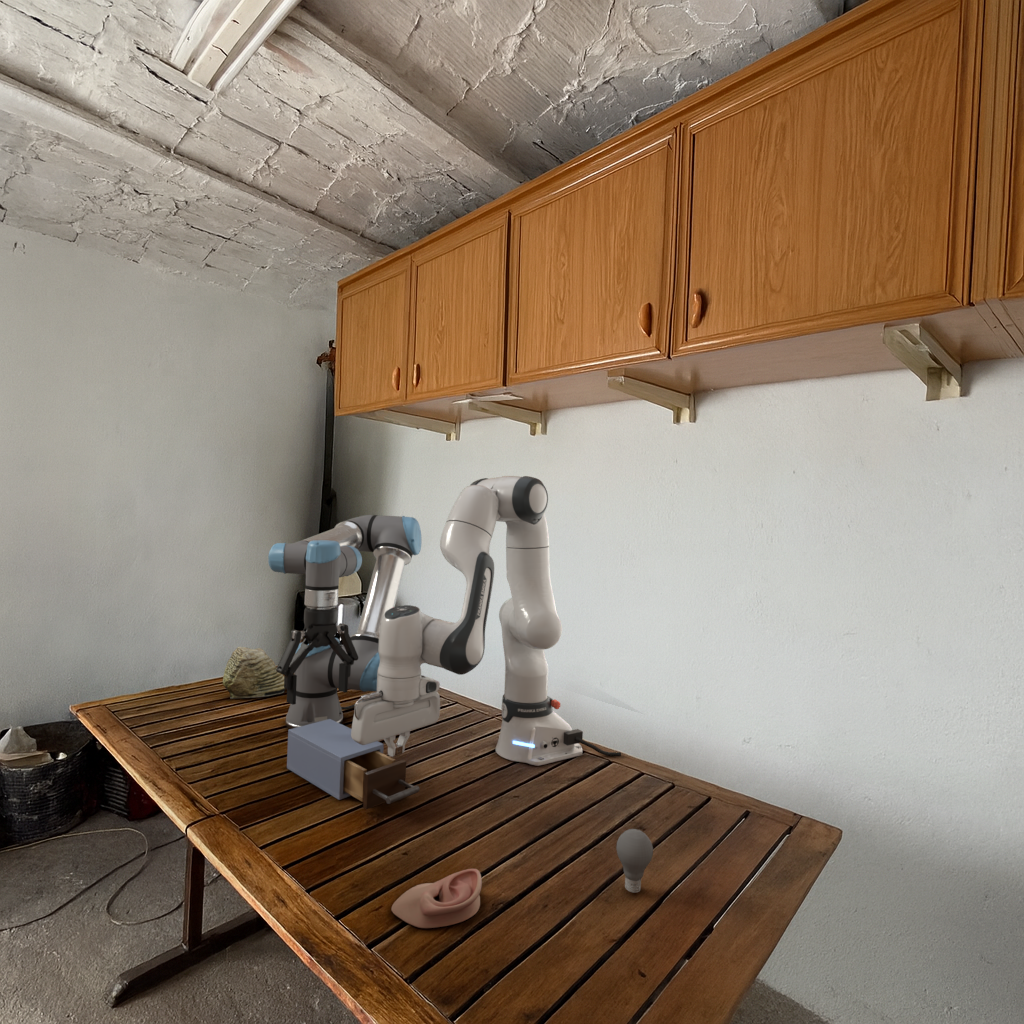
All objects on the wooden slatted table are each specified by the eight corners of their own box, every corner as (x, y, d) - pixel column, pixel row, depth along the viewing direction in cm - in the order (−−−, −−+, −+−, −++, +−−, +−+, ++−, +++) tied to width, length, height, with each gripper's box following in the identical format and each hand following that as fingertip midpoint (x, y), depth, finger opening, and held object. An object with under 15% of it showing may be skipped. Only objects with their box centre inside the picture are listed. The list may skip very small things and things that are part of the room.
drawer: (423, 803, 131) (424, 769, 131) (384, 820, 123) (386, 784, 123) (350, 764, 148) (351, 734, 148) (312, 777, 141) (313, 745, 140)
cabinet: (382, 784, 141) (383, 744, 141) (339, 800, 133) (340, 757, 132) (328, 755, 155) (329, 718, 155) (286, 768, 147) (288, 729, 147)
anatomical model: (384, 895, 95) (411, 854, 106) (383, 921, 95) (410, 877, 106) (469, 910, 92) (488, 866, 104) (468, 937, 93) (487, 890, 104)
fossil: (218, 695, 195) (220, 647, 195) (278, 685, 208) (279, 640, 207) (228, 703, 189) (230, 653, 188) (289, 692, 201) (290, 645, 201)
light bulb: (610, 879, 108) (613, 822, 108) (644, 879, 109) (647, 822, 109) (619, 902, 102) (622, 840, 102) (655, 901, 103) (658, 840, 103)
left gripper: (279, 614, 136) (275, 712, 137) (374, 603, 155) (371, 690, 155) (262, 609, 141) (259, 704, 142) (356, 599, 160) (353, 683, 160)
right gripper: (365, 701, 119) (362, 774, 119) (445, 681, 134) (443, 745, 135) (346, 693, 123) (343, 763, 123) (426, 674, 138) (423, 737, 139)
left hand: (317, 696), depth 149 cm, fingers open, 13 cm apart
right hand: (396, 754), depth 129 cm, fingers closed
